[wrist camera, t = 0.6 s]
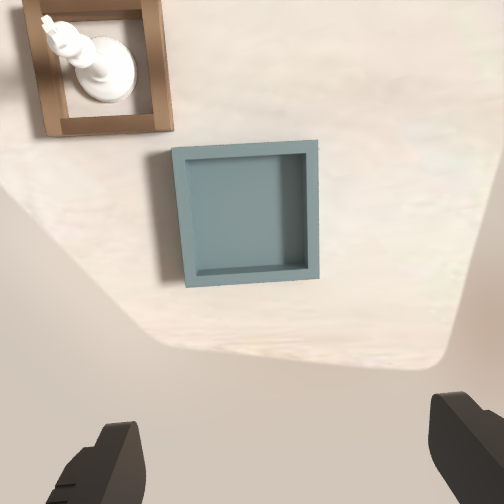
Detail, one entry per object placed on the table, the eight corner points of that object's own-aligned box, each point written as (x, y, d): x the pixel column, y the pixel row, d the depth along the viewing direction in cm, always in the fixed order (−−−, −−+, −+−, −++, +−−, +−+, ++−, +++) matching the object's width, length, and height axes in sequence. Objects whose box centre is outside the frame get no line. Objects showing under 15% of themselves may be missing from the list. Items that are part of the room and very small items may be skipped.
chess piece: (98, 113, 31) (36, 90, 21) (65, 56, 30) (-18, 4, 20) (148, 85, 30) (108, 48, 21) (116, 26, 29) (58, -42, 19)
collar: (33, 5, 28) (20, -5, 27) (160, 0, 29) (156, -11, 27) (57, 137, 31) (46, 135, 29) (174, 131, 31) (170, 129, 30)
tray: (176, 149, 32) (171, 147, 29) (311, 141, 32) (318, 139, 30) (189, 278, 35) (185, 287, 32) (313, 270, 35) (319, 278, 32)
